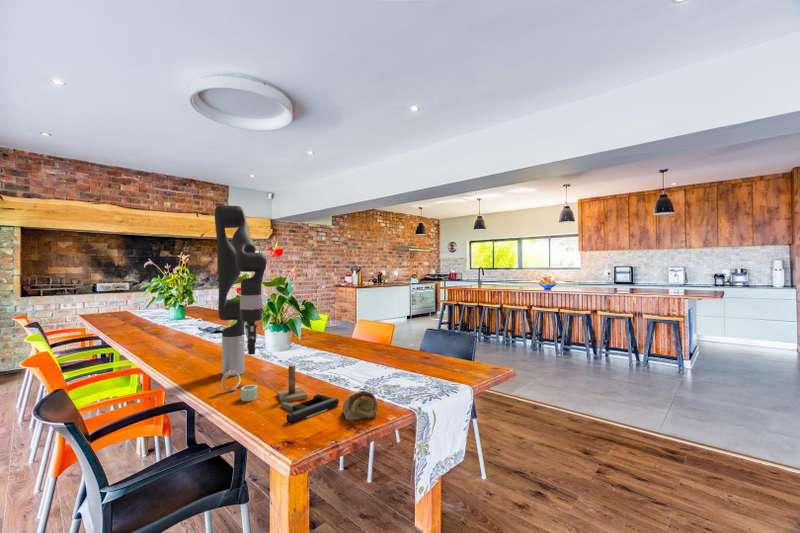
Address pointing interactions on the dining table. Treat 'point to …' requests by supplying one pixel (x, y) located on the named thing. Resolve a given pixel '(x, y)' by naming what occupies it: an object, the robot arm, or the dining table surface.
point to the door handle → (309, 407)
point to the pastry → (360, 405)
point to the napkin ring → (249, 393)
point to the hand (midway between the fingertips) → (251, 351)
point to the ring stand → (291, 389)
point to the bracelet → (227, 377)
